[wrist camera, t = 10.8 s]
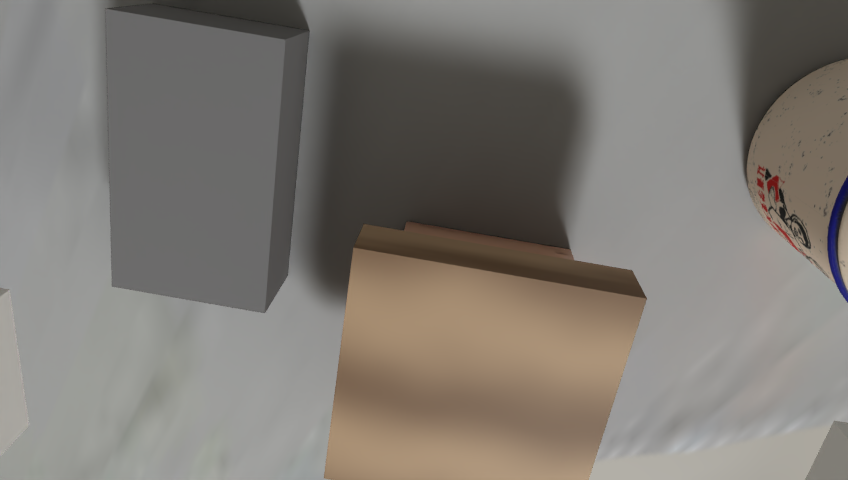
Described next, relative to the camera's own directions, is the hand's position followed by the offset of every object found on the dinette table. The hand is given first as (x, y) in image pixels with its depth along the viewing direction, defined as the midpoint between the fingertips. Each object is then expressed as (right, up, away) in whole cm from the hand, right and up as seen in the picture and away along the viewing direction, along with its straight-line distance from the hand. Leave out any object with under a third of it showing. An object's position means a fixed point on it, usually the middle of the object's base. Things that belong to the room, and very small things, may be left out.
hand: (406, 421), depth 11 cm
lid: (+2, -2, +18) cm, 19 cm away
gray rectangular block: (-9, +7, +21) cm, 24 cm away
